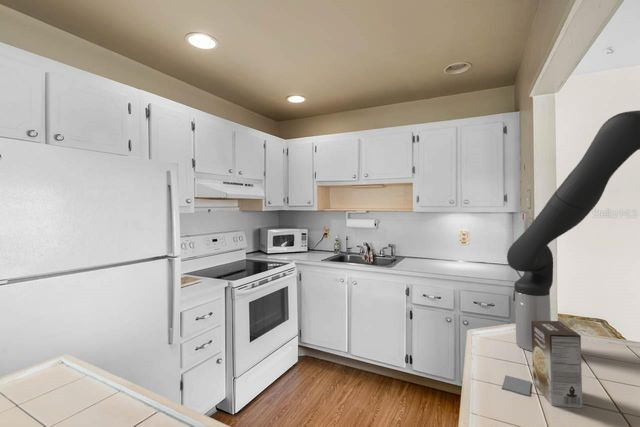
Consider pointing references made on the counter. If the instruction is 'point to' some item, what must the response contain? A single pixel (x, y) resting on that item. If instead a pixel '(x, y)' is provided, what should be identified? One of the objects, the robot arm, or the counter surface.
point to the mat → (516, 385)
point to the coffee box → (557, 363)
